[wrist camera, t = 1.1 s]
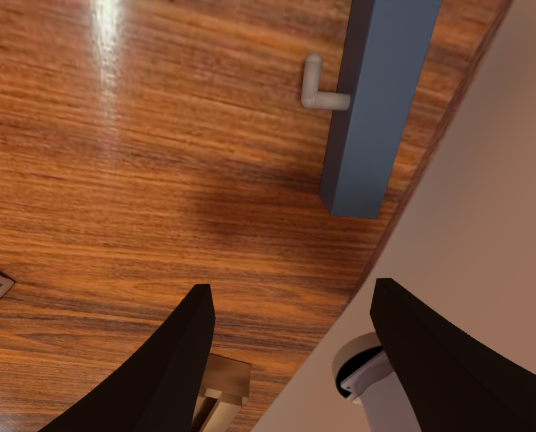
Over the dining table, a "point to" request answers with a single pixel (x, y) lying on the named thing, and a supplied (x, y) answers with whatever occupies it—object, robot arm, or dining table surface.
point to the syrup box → (5, 285)
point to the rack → (223, 391)
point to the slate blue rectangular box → (369, 100)
